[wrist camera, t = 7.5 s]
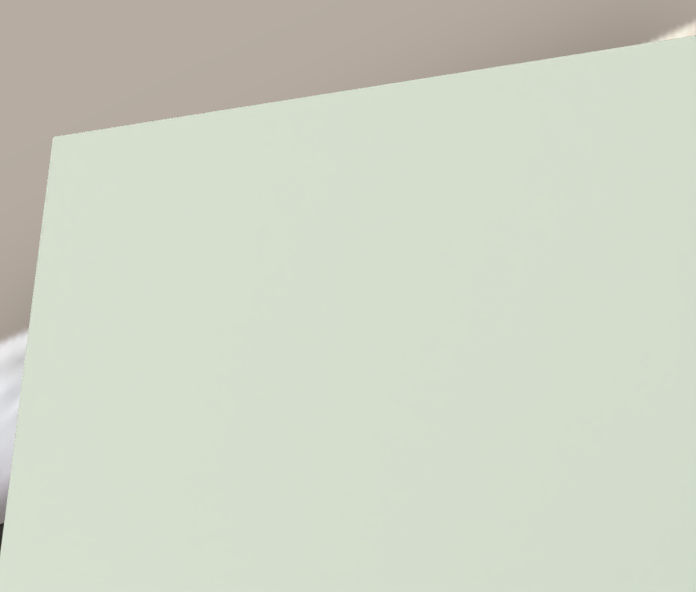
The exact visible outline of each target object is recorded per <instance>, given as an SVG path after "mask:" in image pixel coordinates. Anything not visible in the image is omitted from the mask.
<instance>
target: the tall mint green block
mask: <svg viewBox="0 0 696 592" xmlns="http://www.w3.org/2000/svg"><path fill="white" fill-rule="evenodd" d="M0 592H696V35H695V36H689V37H683V38H676V39H670V40H664V41H658V42H651V43H645V44H639V45H632V46H626V47H620V48H613V49H608V50H601V51H594V52H588V53H582V54H575V55H569V56H563V57H557V58H551V59H544V60H537V61H531V62H525V63H519V64H512V65H506V66H500V67H493V68H487V69H481V70H474V71H468V72H462V73H455V74H449V75H443V76H436V77H430V78H424V79H418V80H411V81H405V82H398V83H393V84H386V85H379V86H373V87H367V88H360V89H354V90H348V91H342V92H335V93H329V94H323V95H317V96H310V97H304V98H297V99H291V100H285V101H279V102H272V103H266V104H259V105H253V106H247V107H240V108H234V109H228V110H222V111H215V112H209V113H202V114H196V115H190V116H183V117H177V118H171V119H165V120H158V121H152V122H146V123H139V124H133V125H127V126H121V127H114V128H108V129H101V130H96V131H89V132H82V133H76V134H70V135H63V136H58V137H53V142H52V150H51V159H50V167H49V174H48V182H47V190H46V198H45V206H44V214H43V221H42V229H41V238H40V245H39V253H38V261H37V269H36V276H35V284H34V293H33V300H32V308H31V316H30V324H29V332H28V339H27V347H26V355H25V363H24V371H23V379H22V387H21V395H20V403H19V410H18V418H17V426H16V434H15V442H14V450H13V458H12V466H11V473H10V481H9V489H8V497H7V505H6V513H5V521H4V529H3V537H2V544H1V552H0Z"/></svg>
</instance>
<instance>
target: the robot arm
mask: <svg viewBox="0 0 696 592" xmlns="http://www.w3.org/2000/svg"><path fill="white" fill-rule="evenodd" d="M3 529H4V523H3V524H0V552H1V544H2V537H3Z"/></svg>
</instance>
